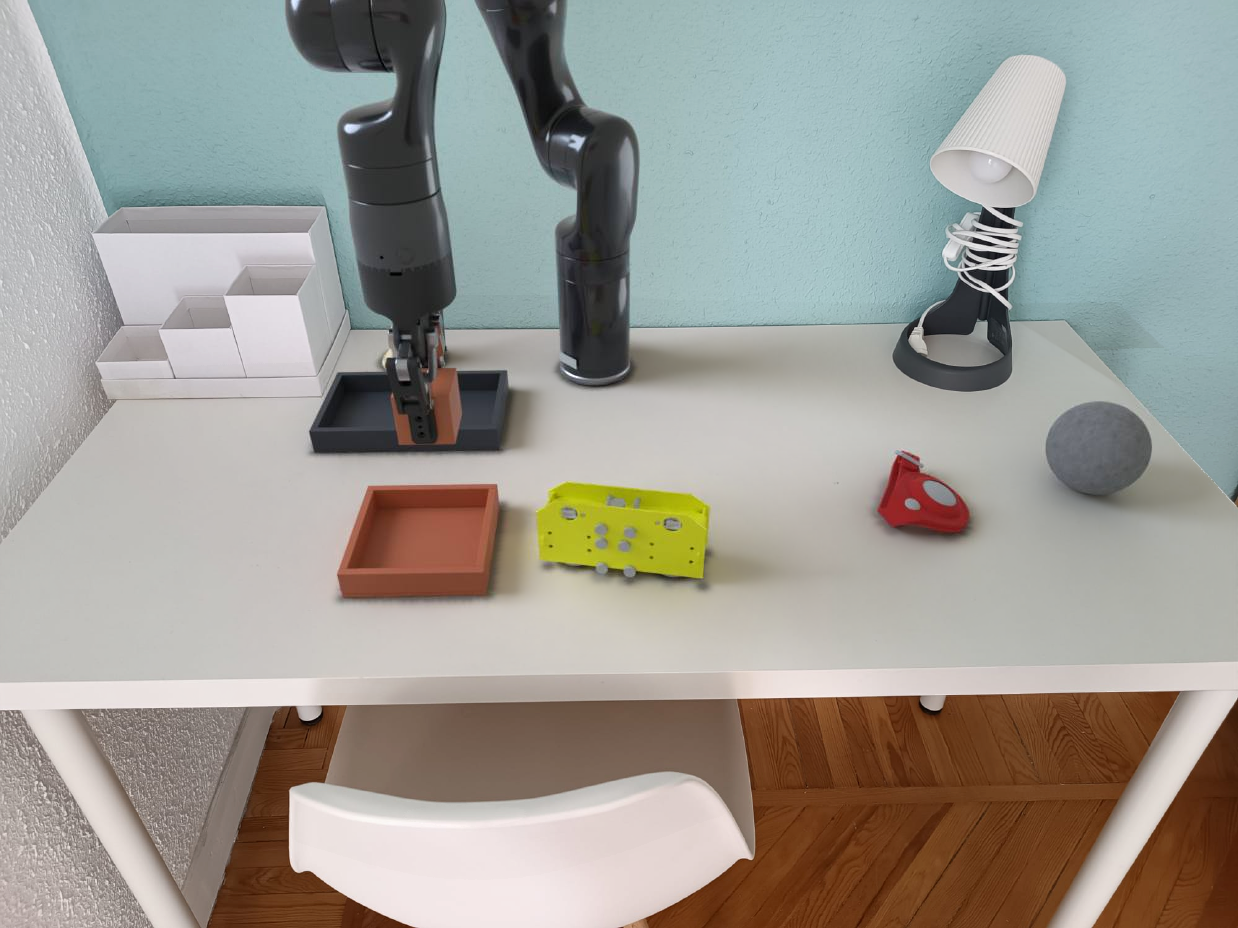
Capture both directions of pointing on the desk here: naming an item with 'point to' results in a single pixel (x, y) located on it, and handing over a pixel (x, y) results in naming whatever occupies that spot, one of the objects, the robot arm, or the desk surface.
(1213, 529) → the desk surface
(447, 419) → the terracotta block
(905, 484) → the tracker holder
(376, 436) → the charcoal tray
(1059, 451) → the decorative ball
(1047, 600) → the desk surface
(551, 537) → the yellow toy chassis
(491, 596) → the desk surface
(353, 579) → the terracotta tray
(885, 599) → the desk surface
